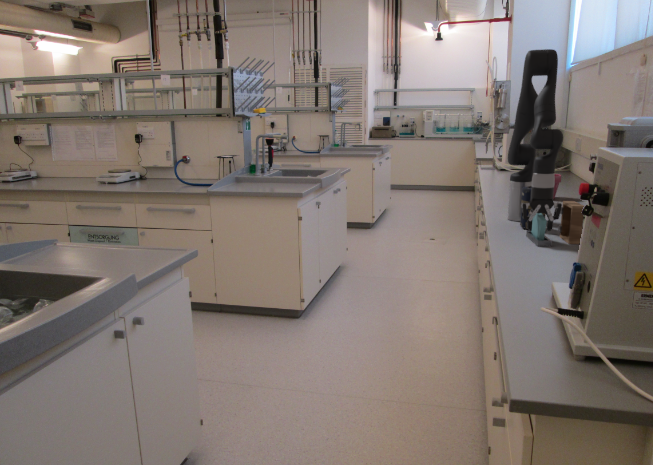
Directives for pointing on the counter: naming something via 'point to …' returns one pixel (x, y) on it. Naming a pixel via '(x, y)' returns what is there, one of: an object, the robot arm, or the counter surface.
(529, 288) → the counter surface
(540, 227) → the door panel
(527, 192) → the canister
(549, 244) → the grey rectangular frame
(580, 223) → the cabinet
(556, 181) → the plant pot
